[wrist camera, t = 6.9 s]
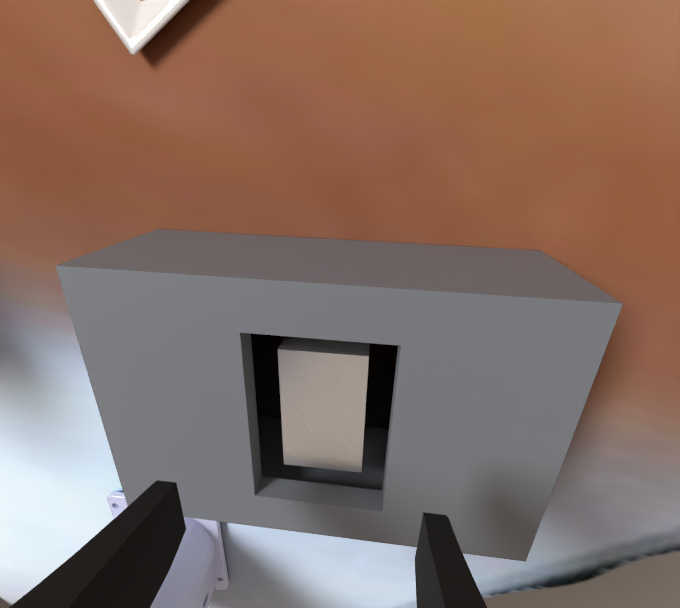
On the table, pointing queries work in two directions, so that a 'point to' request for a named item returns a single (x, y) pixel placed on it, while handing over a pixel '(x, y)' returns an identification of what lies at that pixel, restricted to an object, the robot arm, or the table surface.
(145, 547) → the robot arm
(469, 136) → the table surface
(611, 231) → the table surface
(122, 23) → the dessert
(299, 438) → the cream block
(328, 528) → the grey tissue box
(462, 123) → the table surface
